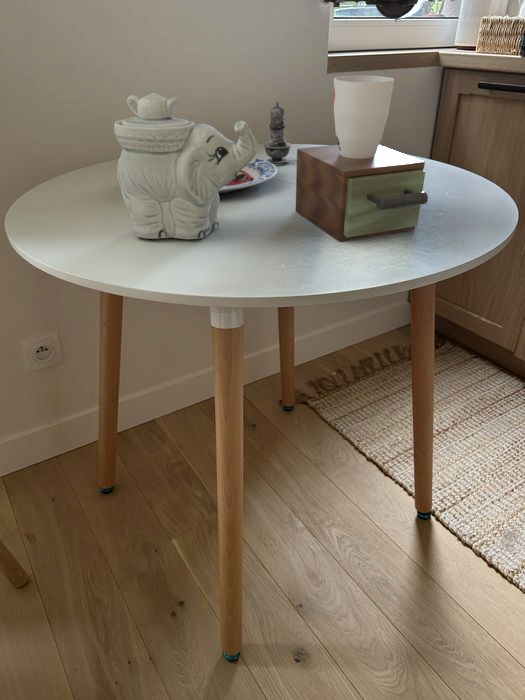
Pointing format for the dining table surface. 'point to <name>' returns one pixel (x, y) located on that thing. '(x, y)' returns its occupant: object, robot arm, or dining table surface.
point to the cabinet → (339, 183)
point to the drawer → (383, 202)
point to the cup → (361, 113)
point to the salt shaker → (277, 138)
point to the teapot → (175, 169)
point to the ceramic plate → (251, 175)
